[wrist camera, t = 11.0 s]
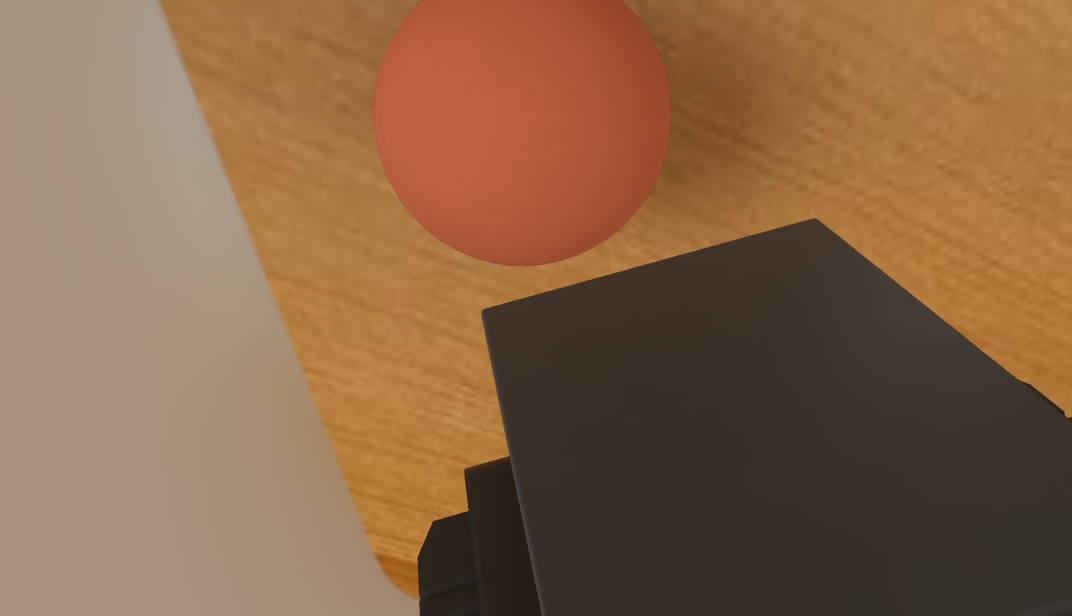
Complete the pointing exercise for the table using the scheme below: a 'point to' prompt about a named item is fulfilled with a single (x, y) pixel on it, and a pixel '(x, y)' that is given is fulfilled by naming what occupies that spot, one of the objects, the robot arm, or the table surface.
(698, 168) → the table surface
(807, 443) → the block
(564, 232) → the ball
